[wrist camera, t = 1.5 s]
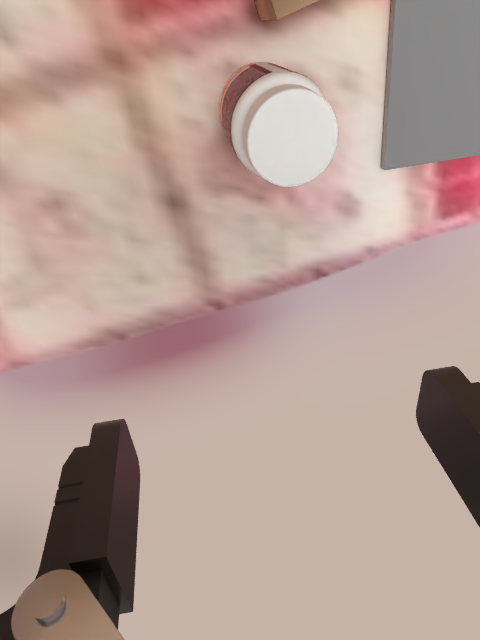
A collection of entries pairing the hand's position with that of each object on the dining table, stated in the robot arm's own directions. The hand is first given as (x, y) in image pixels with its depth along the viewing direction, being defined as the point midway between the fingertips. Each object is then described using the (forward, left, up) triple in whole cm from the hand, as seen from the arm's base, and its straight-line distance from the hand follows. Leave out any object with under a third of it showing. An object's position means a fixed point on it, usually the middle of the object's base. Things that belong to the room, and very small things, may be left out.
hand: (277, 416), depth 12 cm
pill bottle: (-4, +3, -20) cm, 21 cm away
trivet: (-4, +15, -20) cm, 25 cm away
